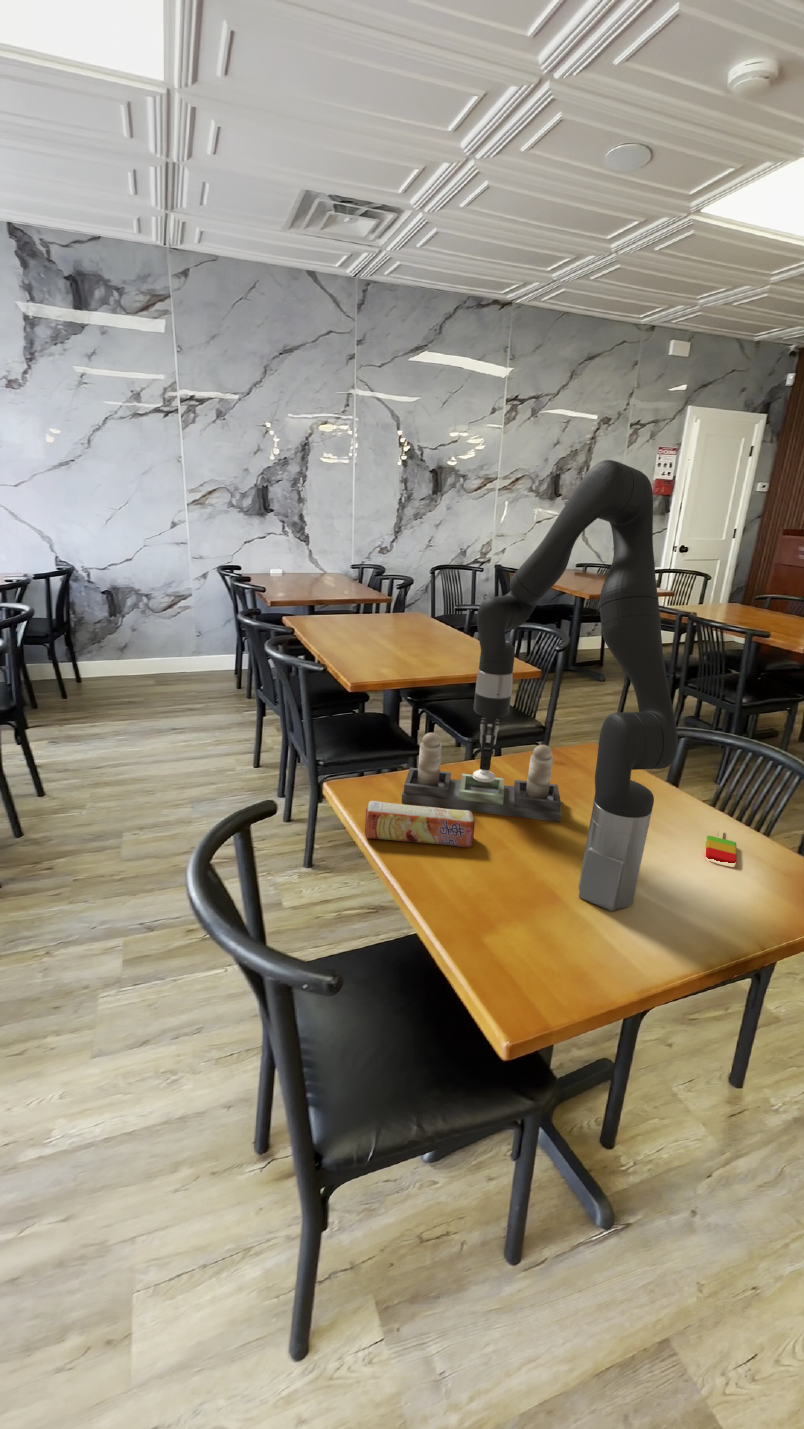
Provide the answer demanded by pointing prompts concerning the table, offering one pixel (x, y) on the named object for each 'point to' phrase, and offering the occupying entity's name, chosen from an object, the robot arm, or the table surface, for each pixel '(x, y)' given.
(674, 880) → the table surface
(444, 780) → the grey peg holder
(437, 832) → the snack package
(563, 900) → the table surface
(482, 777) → the chess piece
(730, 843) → the popsicle
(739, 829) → the table surface
